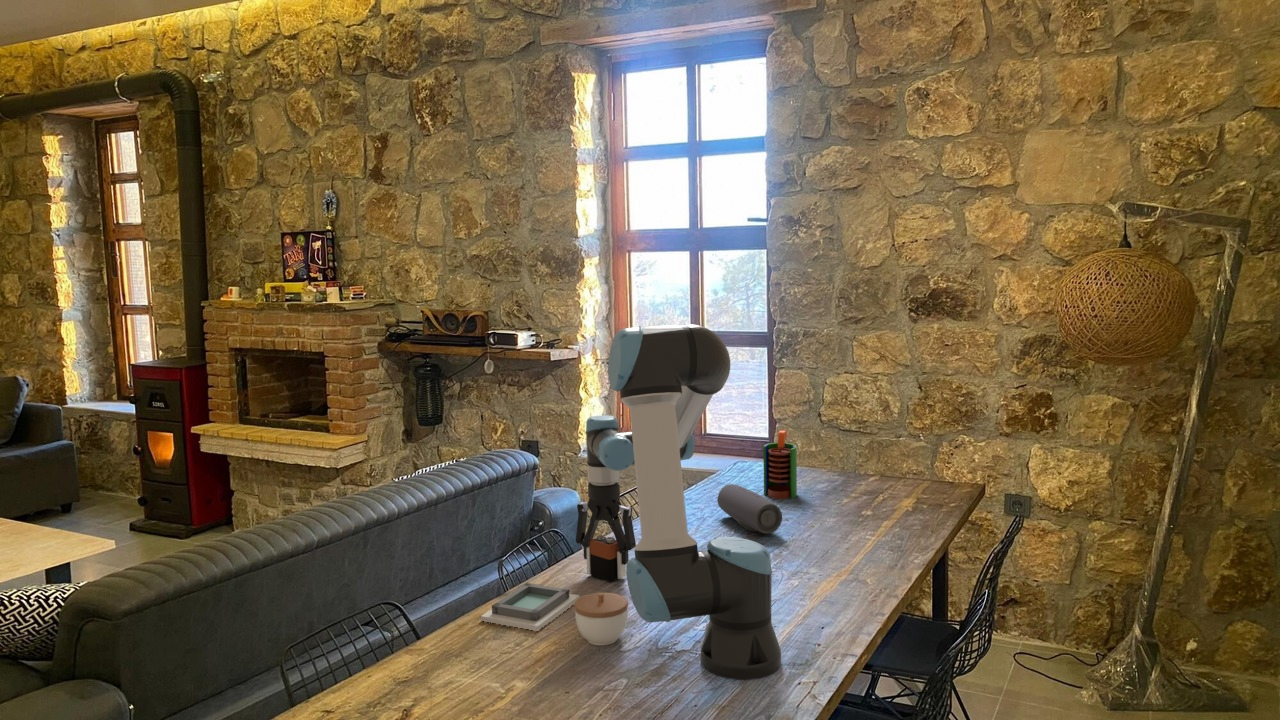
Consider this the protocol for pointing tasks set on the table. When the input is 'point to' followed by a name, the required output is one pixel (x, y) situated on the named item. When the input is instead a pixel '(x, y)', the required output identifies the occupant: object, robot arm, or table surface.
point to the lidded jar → (601, 617)
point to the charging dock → (530, 607)
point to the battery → (604, 558)
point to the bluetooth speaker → (749, 509)
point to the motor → (780, 468)
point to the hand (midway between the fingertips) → (606, 574)
